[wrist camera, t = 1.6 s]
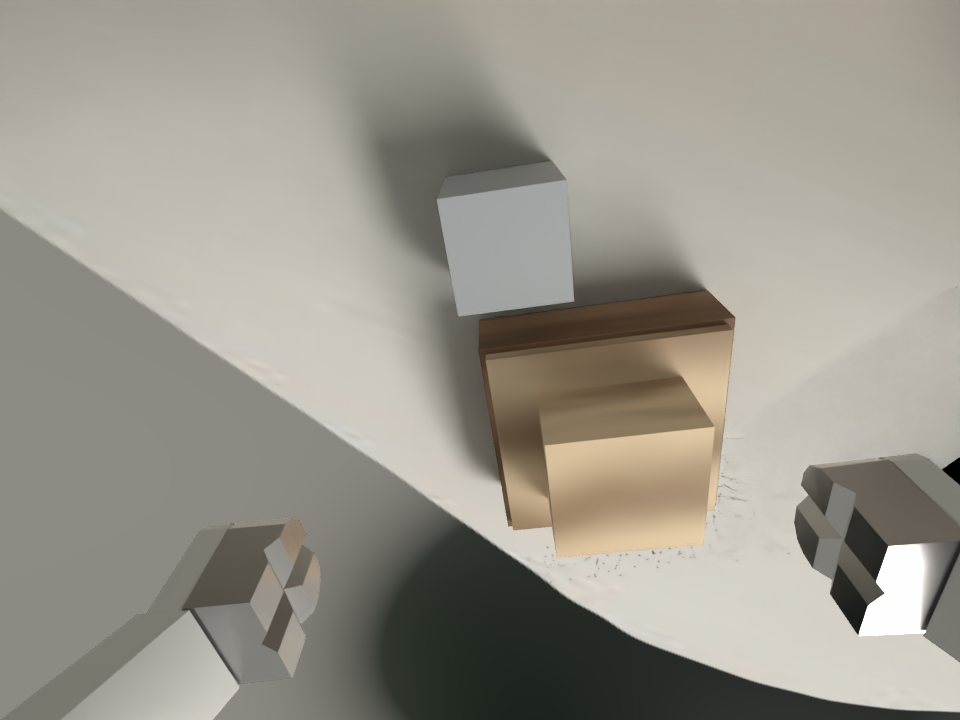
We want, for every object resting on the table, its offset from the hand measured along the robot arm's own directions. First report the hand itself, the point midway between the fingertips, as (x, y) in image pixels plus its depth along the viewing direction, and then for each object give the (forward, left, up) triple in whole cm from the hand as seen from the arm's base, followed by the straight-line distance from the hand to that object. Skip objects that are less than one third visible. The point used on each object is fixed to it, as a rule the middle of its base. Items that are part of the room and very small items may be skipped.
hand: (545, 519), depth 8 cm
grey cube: (0, 0, -19) cm, 19 cm away
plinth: (+11, +4, -19) cm, 22 cm away
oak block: (+11, +4, -15) cm, 19 cm away
